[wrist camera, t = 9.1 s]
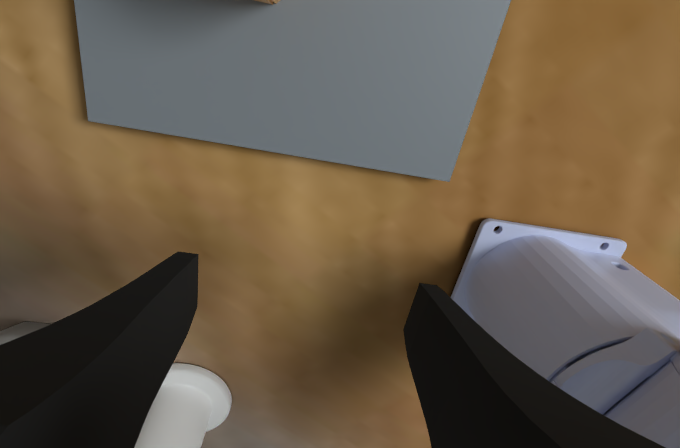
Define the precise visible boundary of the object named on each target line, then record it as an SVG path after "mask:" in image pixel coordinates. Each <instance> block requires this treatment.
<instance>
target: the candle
mask: <svg viewBox="0 0 680 448" xmlns="http://www.w3.org/2000/svg"><path fill="white" fill-rule="evenodd" d="M231 404H232V397H231V392H230V390H229V388H228V386H227V385H226V383H225V382H224V381H223V380H222V379H221V378H220V377H219V376H217V375H216V374H214V373H213V372H211V371H209V370H207V369H205V368H202V367H199V366H195V365H191V364H184V363H173V364H172V366H171V368H170V370H169V372H168V374H167V376H166V378H165V380H164V381H163V383H162V385H161V387H160V389H159V391H158V393H157V395H156V397H155V399H154V401H153V403H152V406H151V408H150V410H149V412H148V414H147V417H146V419H145V422H144V424H143V427H142V429H141V432H140V434H139V437H138V439H137V442H136V445H135V447H134V448H201V445H202V442H203V439H204V435H205V432H207V431H209V430H212V429H214V428H216V427H217V426H219V425H220V424H221V423H222V422H223V421H224V420H225V419H226V418H227V416H228V414H229V412H230V408H231Z"/></svg>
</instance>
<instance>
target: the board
mask: <svg viewBox="0 0 680 448" xmlns="http://www.w3.org/2000/svg"><path fill="white" fill-rule="evenodd" d="M510 2H511V0H280V1H279V2H278V3H277V4H276V3H274V2H273V5H272V4H268V3H263V2H259V1H255V0H74V4H75V12H76V21H77V29H78V38H79V47H80V55H81V64H82V72H83V81H84V89H85V98H86V106H87V115H88V121H92V122H98V123H104V124H109V125H115V126H121V127H127V128H133V129H139V130H145V131H151V132H157V133H163V134H169V135H175V136H181V137H187V138H193V139H198V140H204V141H210V142H216V143H222V144H228V145H234V146H240V147H246V148H252V149H258V150H264V151H270V152H276V153H282V154H287V155H293V156H299V157H305V158H311V159H317V160H323V161H329V162H335V163H341V164H347V165H353V166H359V167H365V168H371V169H376V170H382V171H388V172H394V173H400V174H406V175H412V176H418V177H424V178H430V179H436V180H442V181H448V182H449V181H450V178H451V175H452V172H453V169H454V166H455V164H456V161H457V158H458V155H459V152H460V149H461V146H462V143H463V140H464V137H465V134H466V131H467V128H468V125H469V122H470V119H471V116H472V114H473V111H474V108H475V105H476V102H477V99H478V96H479V93H480V90H481V87H482V84H483V81H484V78H485V75H486V72H487V69H488V66H489V64H490V61H491V58H492V55H493V52H494V49H495V46H496V43H497V40H498V37H499V34H500V31H501V28H502V25H503V22H504V19H505V16H506V14H507V11H508V8H509V5H510Z"/></svg>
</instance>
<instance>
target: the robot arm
mask: <svg viewBox="0 0 680 448" xmlns="http://www.w3.org/2000/svg"><path fill="white" fill-rule="evenodd" d="M497 226H500V227H499V229H498V230H496V231H494V228H495V227H497ZM603 243H604V244H603ZM602 244H603V245H602ZM601 245H602V246H601ZM626 247H627V244H626V243H625V242H624V241H623V240H621V239H617V238H611V237H605V236H598V235H592V234H586V233H579V232H573V231H567V230H560V229H554V228H548V227H541V226H535V225H529V224H522V223H516V222H510V221H503V220H497V219H485V220H483V221H482V222H481V224H480V226H479V228H478V231H477V233H476V236H475V238H474V241H473V243H472V246H471V248H470V251H469V253H468V255H467V258H466V260H465V263H464V265H463V268H462V270H461V273H460V275H459V278H458V280H457V283H456V285H455V288H454V290H453V293H452V295H451V298H450V297H449V296H448V295H447V294H446V293H445V292H444V291H443V290H442V289H441V288H439V287H438V286H437V285H430V284H423V283H419V286H418V289H417V292H416V295H415V298H414V300H413V303H412V306H411V309H410V312H409V315H408V318H407V321H406V324H405V326H404V329H403V330H404V337H405V345H406V351H407V357H408V361H409V365H410V368H411V372H412V375H413V379H414V382H415V386H416V389H417V393H418V396H419V400H420V403H421V407H422V410H423V413H424V417H425V420H426V424H427V428H428V432H429V436H430V442H431V447H432V448H680V300H678V299H677V298H676V297H674V296H673V295H671V294H670V293H669V292H667V291H666V290H665V289H663V288H662V287H660V286H659V285H658V284H656V283H655V282H654V281H652V280H651V279H649V278H648V277H647V276H645V275H644V274H643V273H641V272H640V271H638V270H637V269H636V268H634V267H633V266H632V265H630V264H629V263H627V262H626V261H625V260H623V259H622V258H621V256H622V254H623V253H624V251H625V250H626ZM197 297H198V254H192V253H185V252H177V253H175V254H173V255H172V256H170V257H169V258H167V259H166V260H164V261H163V262H161V263H160V264H158V265H157V266H155V267H154V268H152V269H151V270H149V271H148V272H146V273H145V274H143V275H141V276H140V277H138V278H137V279H135V280H134V281H132V282H131V283H129V284H127V285H126V286H124V287H122V288H120V289H119V290H117V291H115V292H113V293H112V294H110V295H108V296H106V297H105V298H103V299H101V300H99V301H98V302H96V303H94V304H92V305H90V306H88V307H86V308H84V309H82V310H80V311H79V312H76V313H74V314H72V315H70V316H68V317H66V318H64V319H62V320H59V321H57V322H55V323H53V324H51V325H48V326H46V327H43V328H41V329H38V330H36V331H34V332H31V333H29V334H26V335H24V336H21V337H19V338H16V339H14V340H11V341H9V342H6V343H4V344H1V345H0V448H134V447H135V445H136V442H137V439H138V437H139V434H140V432H141V429H142V427H143V424H144V422H145V419H146V417H147V414H148V412H149V410H150V408H151V406H152V403H153V401H154V399H155V397H156V395H157V393H158V391H159V389H160V387H161V385H162V383H163V381H164V380H165V378H166V376H167V374H168V372H169V370H170V368H171V366H172V364H173V362H174V360H175V358H176V356H177V354H178V352H179V350H180V348H181V346H182V344H183V342H184V340H185V338H186V336H187V334H188V331H189V328H190V326H191V323H192V320H193V317H194V314H195V311H196V309H197Z"/></svg>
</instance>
